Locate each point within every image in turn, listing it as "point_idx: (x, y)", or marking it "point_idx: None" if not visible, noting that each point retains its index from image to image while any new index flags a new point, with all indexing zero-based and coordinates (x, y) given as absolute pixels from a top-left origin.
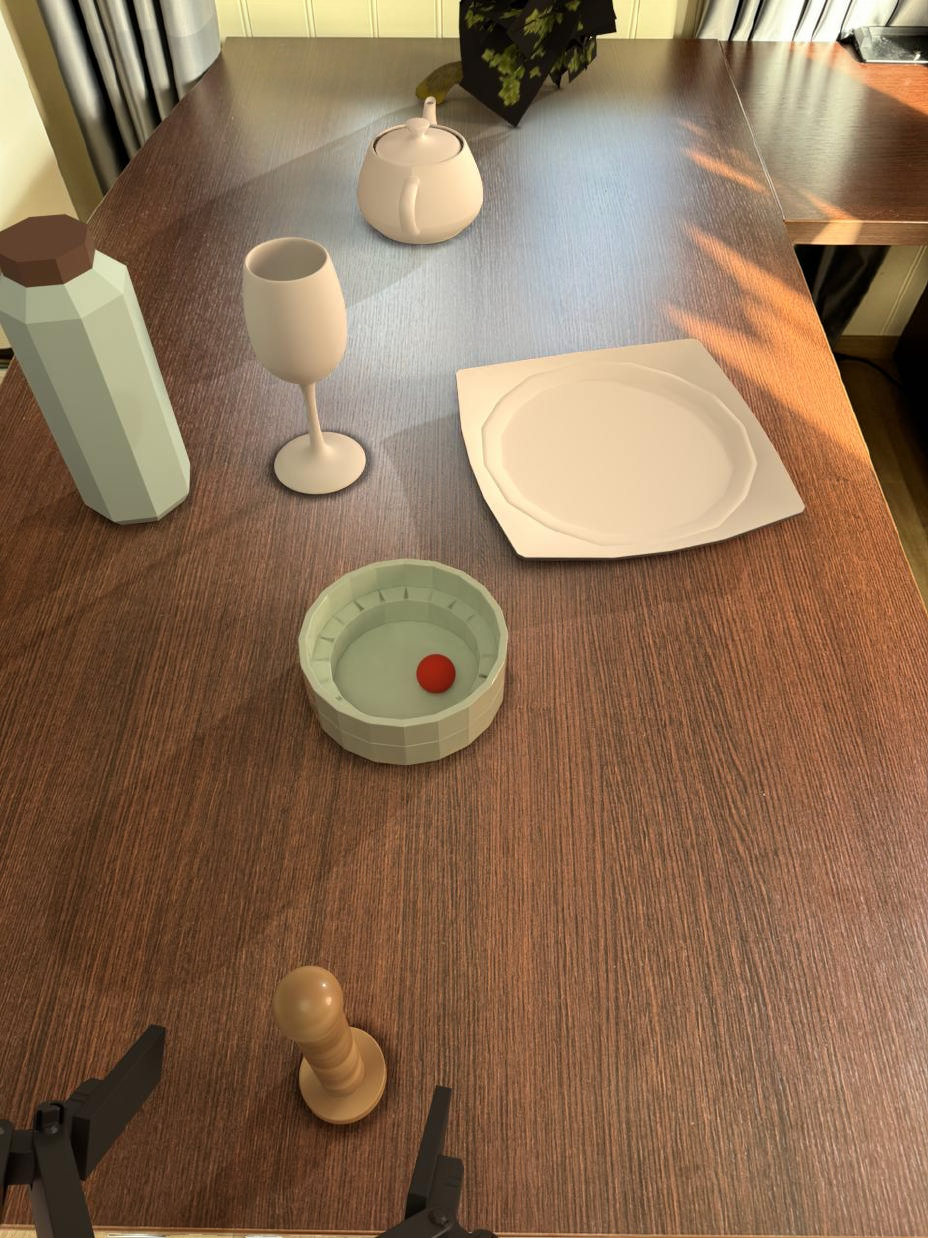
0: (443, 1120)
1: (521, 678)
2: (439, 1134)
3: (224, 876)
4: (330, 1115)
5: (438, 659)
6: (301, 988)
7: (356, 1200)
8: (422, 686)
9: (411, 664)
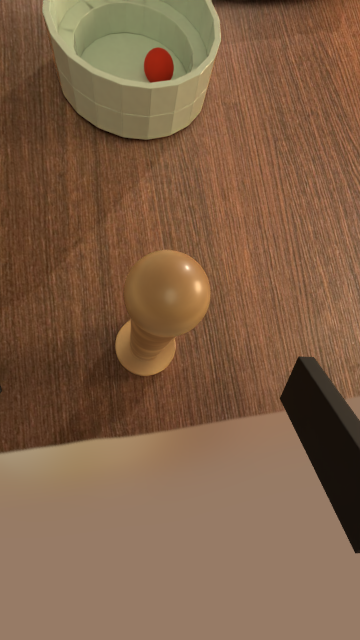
0: (337, 392)
1: (214, 82)
2: (350, 410)
3: (24, 224)
4: (143, 372)
5: (162, 49)
6: (169, 273)
7: (168, 417)
8: (150, 77)
9: (136, 66)
